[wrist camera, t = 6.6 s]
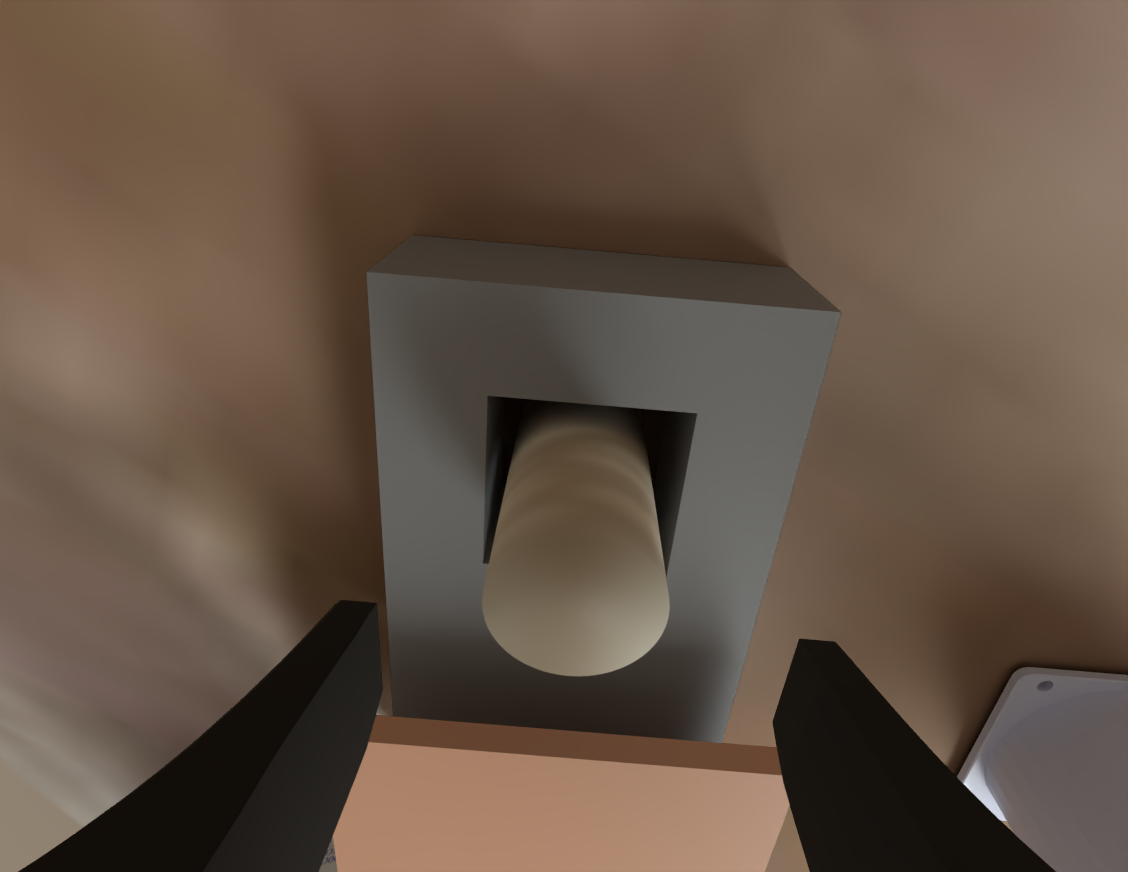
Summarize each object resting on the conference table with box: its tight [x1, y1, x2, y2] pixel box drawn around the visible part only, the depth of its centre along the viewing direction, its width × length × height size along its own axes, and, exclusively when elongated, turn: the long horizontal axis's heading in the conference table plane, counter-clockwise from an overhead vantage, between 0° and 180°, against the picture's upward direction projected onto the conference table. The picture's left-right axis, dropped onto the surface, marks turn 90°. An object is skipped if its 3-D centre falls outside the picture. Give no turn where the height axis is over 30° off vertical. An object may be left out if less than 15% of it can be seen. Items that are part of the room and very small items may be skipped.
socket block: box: [366, 235, 842, 743], centre depth 19 cm, size 10×14×4 cm
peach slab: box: [333, 715, 790, 872], centre depth 21 cm, size 12×8×7 cm
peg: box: [482, 399, 670, 676], centre depth 16 cm, size 4×4×8 cm
